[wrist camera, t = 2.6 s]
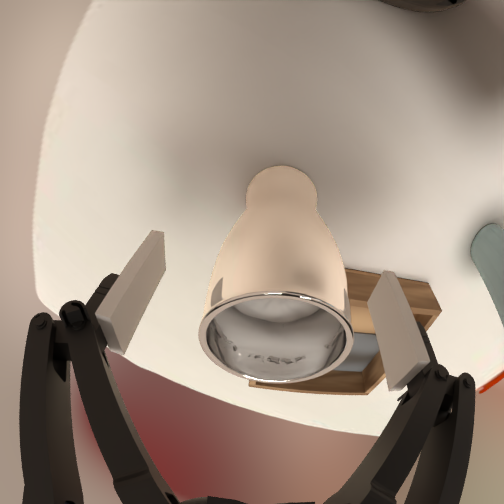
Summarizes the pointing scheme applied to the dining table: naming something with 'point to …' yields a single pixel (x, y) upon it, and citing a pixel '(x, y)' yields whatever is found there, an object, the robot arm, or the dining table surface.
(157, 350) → the dining table surface
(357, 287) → the caddy
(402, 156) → the dining table surface
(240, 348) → the shiny metal cylinder
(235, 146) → the dining table surface
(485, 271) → the cup
